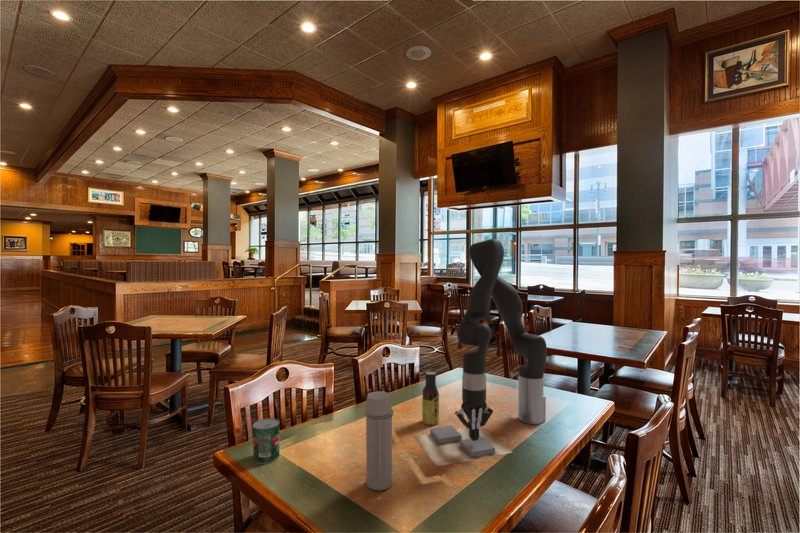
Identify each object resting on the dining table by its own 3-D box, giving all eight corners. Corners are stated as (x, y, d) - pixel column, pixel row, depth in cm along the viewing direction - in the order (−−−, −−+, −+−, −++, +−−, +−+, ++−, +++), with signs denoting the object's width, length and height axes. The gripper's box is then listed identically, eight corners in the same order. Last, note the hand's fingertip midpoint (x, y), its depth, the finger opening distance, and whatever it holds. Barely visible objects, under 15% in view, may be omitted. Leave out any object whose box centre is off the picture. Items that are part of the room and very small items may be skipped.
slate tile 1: (451, 425, 136) (430, 428, 134) (461, 435, 128) (439, 438, 126) (451, 430, 136) (430, 433, 134) (461, 440, 128) (439, 444, 126)
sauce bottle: (438, 430, 139) (438, 376, 139) (421, 429, 141) (421, 375, 140) (439, 422, 146) (439, 371, 145) (423, 421, 147) (423, 370, 147)
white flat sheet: (480, 430, 140) (480, 426, 140) (512, 457, 121) (512, 452, 121) (413, 440, 132) (413, 436, 132) (436, 471, 113) (436, 466, 113)
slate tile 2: (481, 436, 127) (460, 440, 125) (494, 448, 120) (472, 452, 117) (481, 442, 127) (460, 445, 125) (494, 453, 120) (472, 458, 117)
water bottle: (365, 477, 110) (364, 391, 109) (392, 476, 110) (392, 390, 110) (365, 497, 100) (364, 403, 100) (394, 496, 101) (394, 402, 100)
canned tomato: (250, 456, 122) (249, 422, 121) (274, 448, 126) (274, 415, 126) (257, 467, 115) (257, 431, 115) (283, 458, 120) (283, 424, 120)
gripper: (486, 379, 127) (486, 431, 128) (450, 384, 123) (450, 437, 123) (498, 387, 120) (498, 441, 120) (460, 391, 116) (460, 448, 116)
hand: (474, 439), depth 122 cm, fingers closed
